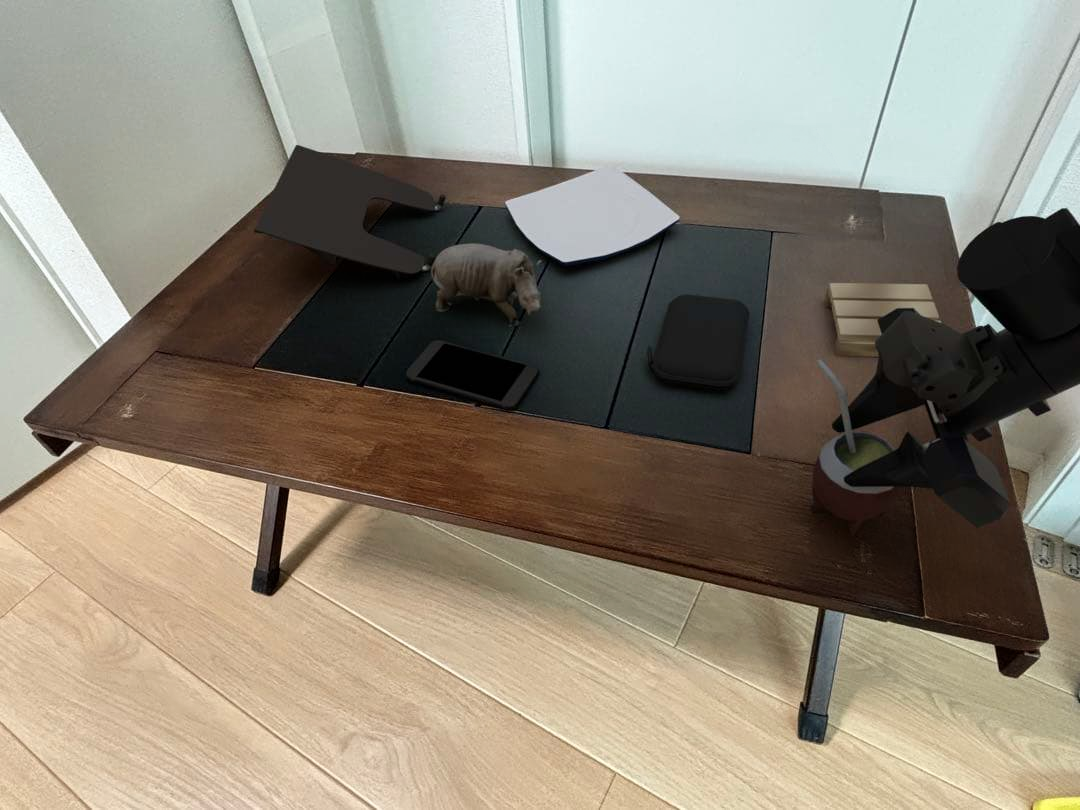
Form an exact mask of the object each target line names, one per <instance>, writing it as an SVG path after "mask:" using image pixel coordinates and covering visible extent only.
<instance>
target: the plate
mask: <svg viewBox="0 0 1080 810" xmlns="http://www.w3.org/2000/svg"><path fill="white" fill-rule="evenodd" d="M504 205H505V207H506V210H507V211H508V213H509V215H510V217H511V218H512V221H513V222H514V224H515V226H516V227H517V229H518V230H519V231H520V233H521V234H522V235H523V237H524V238H525V239H526V240H527V241H528V242H529V243H531V245H533V246H534V248H536V249H537V250H538V251H539V252H540V253H542V254H543V255H546V256H547V257H549V258H550V259H552V260H553V261H556V262H558V263H559V264H561V265H563V266H566V267H570V266H571V267H572V266H575V265H580V264H586V263H591V262H597V261H600V260H605V259H609V258H611V257H614V256H616V255H619V254H622V253H625V252H628V251H630V250H633V249H634V248H637V247H639V246H642V245H644V244H647V243H649V242H650V241H651V240H653V239H655V238H656V237H658V236H660V235H661V234H663V233H664V232H666V231H667V230H669V229H670V228H672V227H673V226H675V225H676V224H677V223H679V222H680V220H681V216H680V215H678V214H677V213H676V212H675V211H673V210H672V209H671V208H670V207H668V206H667V204H665V203H663V201H662V200H660V199H659V198H658V197H656V196H655V195H654V194H652V192H650V191H649V190H648V189H646V188H645V187H643V186H642V185H641V184H639V183H638V182H636V180H634V179H632V178H631V177H630V176H628V174H626V173H625V172H623V171H622V170H620V168H617V166H615V165H614V164H607V165H606V166H603V167H601V168H600V167H599V168H597V169H595V170H593V171H590V172H587V173H584V174H581V175H579V176H576V177H573V178H571V179H568V180H565V181H563V182H559V183H557V184H555V185H551V186H548V187H545V188H542V189H540V190H536V191H533V192H530V193H526V194H523V195H521V196H518V197H515V198H511V199H508V200H506V201H505V202H504Z"/></svg>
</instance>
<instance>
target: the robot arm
mask: <svg viewBox="0 0 1080 810" xmlns="http://www.w3.org/2000/svg"><path fill="white" fill-rule="evenodd" d="M957 261H958V262H957V266H956V274H957V279H958V280H959V282H960V283H961V284H962V285H963V286H964V287H965V288H966V289H967V290H968V291H969V292H970V293H971V295H973V297H974V298H975V299H976V300H977V301H978V302H979V303H980V304H981V305H982V306H983V307H984V308H985V309H986V310H987V311H988V312H989V313H990V314H991V316H992V317H993V318H994V319H995V320H996V321H997V322H998V323H999V324H1000V325H1001V326H1002V327H1003V329H1001V330H999V331H996V329H994V327H993V326H992V325H991V324H990V323H987V324H985V325H977V326H975V327H974V328H971V329H970V330H968V331H965V332H960V331H958V330H955V329H953V328H952V327H951V326H949V325H948V324H945V323H942V322H941V323H940V322H937V321H935V320H932V319H929V318H927V317H924V316H921V315H920V314H919V313H918V312H917V311H916V310H915V309H914V308H897V309H895V310H893V311H892V312H890V313H888V314H887V315H885V316H883V317H882V318H880V319H878V320H877V321H878V324H879V327H880V330H881V333H882V335H881V336H880V337H879V338H878V339H877V340H876V341H875V346H876V349H878V354H879V357H878V360H877V365H876V371H875V374H874V376H873V377H872V378H871V380H870V381H869V382H868V383H867V384H866V386H865V387H864V388H863V389H862V391H861V392H859V394H858V395H857V396H856V397H855V398H854V399H853V400H852V402H851V403H849V404H848V411H849V417H850V423H851V428H852V431H855V430H857V429H861V428H863V427H866V426H868V425H872V424H874V423H877V422H880V421H883V420H886V419H888V418H891V417H894V416H897V415H900V414H903V413H905V412H908V411H911V410H914V409H917V408H919V407H922V406H924V407H925V410H926V413H927V416H928V418H929V421H930V424H931V427H932V431H933V433H934V436H935V440H933V441H931V440H930V441H927V442H925V443H922V442H921V441H920V440H919V439H917V438H916V437H915V436H914V435H912V434H911V432H909V431H906V432H905V433H904V435H903V438H902V440H901V442H900V443H899V446H898V447H897V448H896V449H895V450H894V451H892V452H890V453H888V454H886V455H884V456H882V457H880V458H878V459H876V460H874V461H872V462H870V463H868V464H866V465H864V466H862V467H860V468H858V469H856V470H854V471H853V472H851V473H850V474H848V475H847V476H845V477H844V482H845V483H846V484H848V485H849V486H851V487H898V486H899V487H901V488H902V487H905V488H908V487H909V488H919V489H921V488H922V489H932V490H933V492H934V493H935V495H936V497H938V499H940V500H941V501H942V502H943V503H945V504H946V505H947V506H949V507H950V508H951V509H952V510H954V511H955V512H956V513H957V514H958V515H960V516H961V517H962V518H963V519H965V521H967V522H968V523H970V524H971V525H972V526H973V527H975V528H976V529H978V528H980V527H983V526H985V525H989V524H992V523H994V522H997V521H999V520H1001V519H1002V518H1004V516H1005V515H1006V513H1007V512H1008V510H1009V508H1010V507H1011V505H1012V503H1011V500H1010V498H1009V495H1008V492H1007V490H1006V488H1005V485H1004V483H1003V480H1002V478H1001V476H1000V473H999V471H998V469H997V466H996V465H995V464H994V463H993V462H992V461H990V459H988V458H987V457H986V456H985V455H984V454H983V453H981V452H980V451H979V450H978V449H977V448H975V446H973V444H971V442H970V441H969V439H968V436H969V435H971V436H972V437H973V438H974V439H975V440H976V441H978V442H979V443H981V442H983V441H985V440H988V439H990V438H992V437H993V433H992V431H991V428H990V426H991V425H994V424H996V423H998V422H1000V421H1002V420H1005V419H1007V418H1009V417H1011V416H1013V415H1016V414H1017V413H1020V412H1022V411H1024V410H1027V409H1028V410H1029V411H1030V412H1031V413H1032V414H1033V415H1034V416H1035V417H1040V416H1042V415H1044V414H1046V413H1048V412H1050V411H1052V408H1051V407H1050V405H1049V402H1048V401H1047V400H1048V399H1051V398H1053V397H1055V396H1057V395H1060V394H1062V393H1063V392H1065V391H1068V390H1070V389H1072V388H1074V387H1077V386H1079V385H1080V223H1079V222H1078V220H1077V219H1076V217H1075V216H1074V215H1073V213H1072V212H1071V211H1070V210H1069V208H1067V207H1062V208H1059V209H1058V210H1056V211H1055V212H1053V213H1052V214H1050V215H1048V216H1047V217H1045V218H1044V217H1042V216H1037V215H1024V216H1023V215H1022V216H1017V217H1013V218H1010V219H1007V220H1005V221H1002V222H1001V221H997V222H994V223H993V224H991V225H990V226H988V227H986V228H985V229H983V230H982V231H981V232H980V233H978V234H976V236H975V237H974V238H972V240H971V241H970V242H969V243H968V244H967V246H966V247H965V248H964V249H963V251H962V253H961V254H960V257H959V258H958V260H957ZM944 418H945V419H946V421H945V419H944ZM831 426H832V427H831V428H832V430H833V431H835V432H836V433H838V434H843V433H845V428H844V423H843V417H842V413H840V414H839V416H837V417H836V419H835V420H834V421H833V422H832V423H831Z"/></svg>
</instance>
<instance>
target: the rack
mask: <svg viewBox="0 0 1080 810" xmlns="http://www.w3.org/2000/svg"><path fill="white" fill-rule="evenodd" d="M823 302H824V306H825V307H826V308H831V310H832V316H833V320H834V322H835V325H834V326H835V329H836V334H837V336H836V340H835V344H834V347H833V350H834V351H833V352H834V355H835V356H837V357H838V356H840V357H842V356H843V357H869V358H871V357H873V358H879V354H878V349H876V346H875V341H876V340H877V339H878V338H879V337H880V336H881V335H882V333H881V330H880V327H879V324H878V321H877V320H878V319H880V318H882V317H883V316H885V315H887V314H888V313H890V312H892V311H893V310H895V309H897V308H914V309H915V310H916V311H917V312H918V313H919V314H920V315H921V316H924V317H927V318H929V319H932V320H935V321H937V322H940V323H942V321H941V320H940V315H939V311H938V309H937V307H936V303H935V302H934V301H933V296H932V293H931V290H930V288H929V285H928V284H927V283H871V282H870V283H862V282H861V283H860V282H857V283H855V282H829V284H828V287H827V288H826V293H825V296H824V301H823Z"/></svg>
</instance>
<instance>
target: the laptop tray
mask: <svg viewBox="0 0 1080 810" xmlns="http://www.w3.org/2000/svg"><path fill="white" fill-rule="evenodd" d="M446 198H447V196H446V194H443V193H442V194H441V193H440V195H439V198H438V201H437V205H436V200H435V198H434V196H433V195H432V194H431V193H430V192H427V191H426V190H423V189H421V188H419V187H417V186H415V185H411V184H409V183H407V182H405V181H402V180H400V179H397V178H394V177H391V176H390V175H387V174H384V173H381V172H378V171H377V170H373V169H370V168H367V167H365V166H363V165H360V164H356V163H353V162H350V161H348V160H345V159H343V158H339V157H336V156H333V155H330V154H326V153H324V152H321V151H318V150H315V149H312V148H308V147H305V146H302V145H300V144H296V145H295V146H294V148H293V150H292V152H291V154H290V156H289V158H288V160H287V162H286V164H285V166H284V169H283V170H282V172H281V175H280V176H279V178H278V180H277V182H276V185H275V186H274V189H273V190H272V193H271V194H270V196H269V198H268V201H267V202H266V204H265V206H264V209H263V210H262V212H261V214H260V216H259V219H258V221H257V222H256V225H255V227H254V228H253V232H254V234H255V233H256V234H263V235H267V236H269V237H273V238H276V239H278V240H282V241H285V242H288V243H291V244H295V245H298V246H301V247H302V248H304V249H306V250H308V251H310V252H312V253H313V254H314V255H316V256H317V257H319V258H320V259H321V260H323V261H324V262H326V263H327V264H329V265H330V266H334V265H335V264H336V257H337V258H341V259H344V260H348V261H351V262H355V263H358V264H362V265H367V266H370V267H375V268H378V269H382V270H385V271H391V273H392V274H393V275H395V276H396V277H397V279H403V278H404V279H408V277H409V275H413V276H414V275H417V274H419V273H420V272H429V271H431V269H432V266H433V264H434V262H435V260H436V258H437V256H436V255H435V254H434V253H429V254H428V257H427V260H426V258H425V257H424V256H423V255H421V254H419V253H417V252H415V251H412V250H410V249H409V248H408V249H407V248H405V247H403V246H401V245H398V244H395V243H394V242H391V241H389V240H385V239H383V238H381V237H378V236H375V235H373V234H371V233H368V232H367V231H366V230H365V229H364V226H363V224H364V219H365V216H366V214H367V211H368V207H369V205H370V202H372V201H373V200H380V201H381V200H382V201H385V202H389V203H392V204H396V205H399V206H404V207H408V208H412V209H417V210H421V211H425V212H431V213H432V212H440V211H441V210H442V209H443V207H444V204H445V202H446ZM425 262H426V263H425Z"/></svg>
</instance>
